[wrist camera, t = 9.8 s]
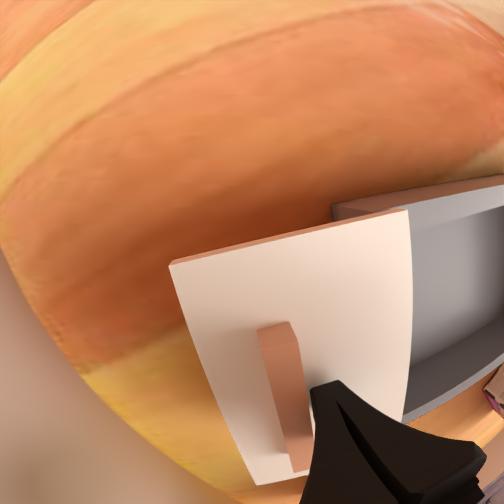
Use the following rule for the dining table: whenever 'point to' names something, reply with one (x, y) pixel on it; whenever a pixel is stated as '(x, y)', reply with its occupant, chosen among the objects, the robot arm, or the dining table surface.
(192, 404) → the dining table surface
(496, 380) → the candy bar box
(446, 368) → the box
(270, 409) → the lid
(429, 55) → the dining table surface
